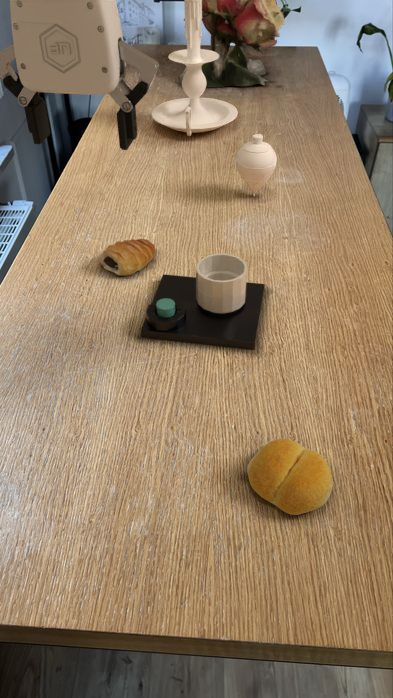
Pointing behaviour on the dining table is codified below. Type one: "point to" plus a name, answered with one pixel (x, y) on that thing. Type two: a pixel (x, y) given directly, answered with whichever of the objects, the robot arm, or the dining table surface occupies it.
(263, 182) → the spinning top
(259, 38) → the rose bouquet
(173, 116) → the candlestick
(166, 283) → the scale
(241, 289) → the beige cup
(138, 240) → the pastry
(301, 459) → the bread roll
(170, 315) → the button
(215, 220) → the dining table surface
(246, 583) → the dining table surface
